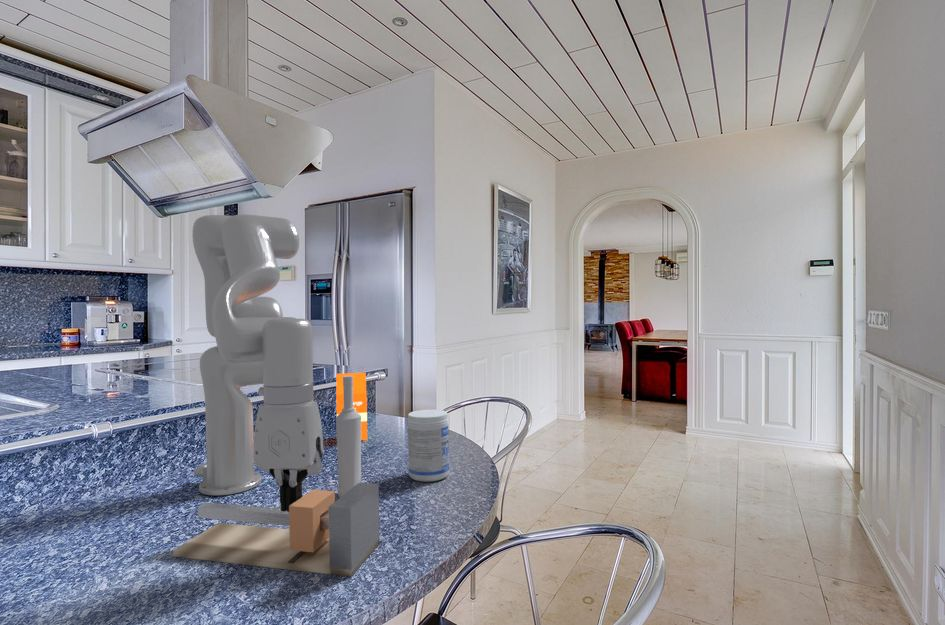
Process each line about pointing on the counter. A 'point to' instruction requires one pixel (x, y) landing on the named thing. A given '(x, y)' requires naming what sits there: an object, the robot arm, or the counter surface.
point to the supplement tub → (428, 445)
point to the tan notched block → (309, 520)
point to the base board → (258, 549)
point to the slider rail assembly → (323, 523)
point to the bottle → (348, 441)
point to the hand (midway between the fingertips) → (291, 508)
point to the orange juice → (354, 398)
